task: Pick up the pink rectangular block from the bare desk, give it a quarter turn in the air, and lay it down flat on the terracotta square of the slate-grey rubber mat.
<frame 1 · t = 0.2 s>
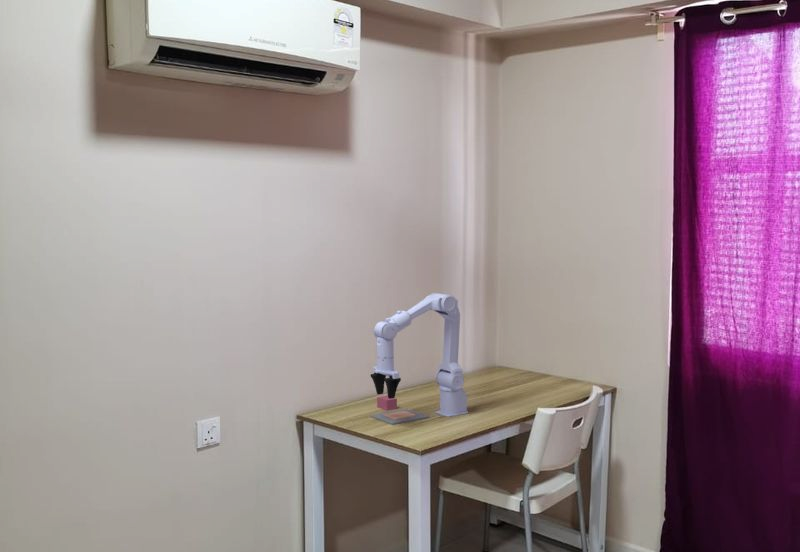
hand: (385, 396, 275), 10 cm above the table, fingers open, 7 cm apart
pink rectangular block: (387, 408, 299), on the table
mat: (399, 417, 285), on the table
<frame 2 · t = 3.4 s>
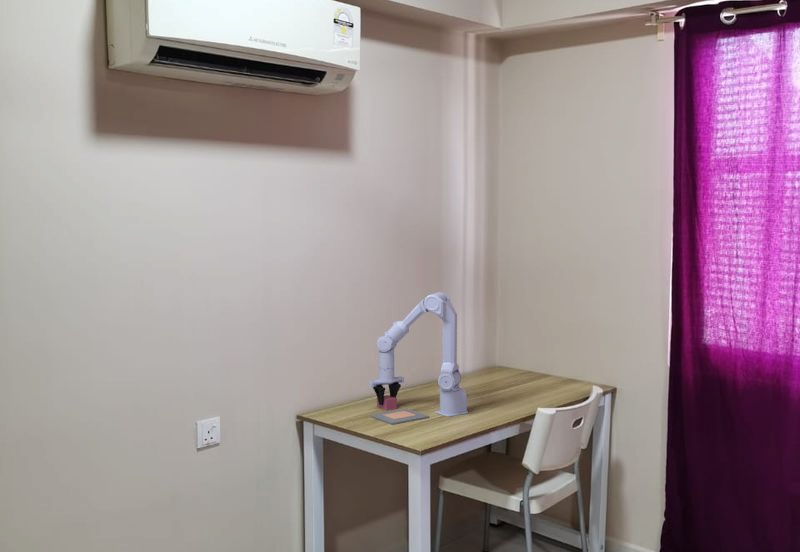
hand: (386, 403, 299), 2 cm above the table, fingers closed on pink rectangular block, 4 cm apart
pink rectangular block: (386, 408, 299), on the table, touching gripper
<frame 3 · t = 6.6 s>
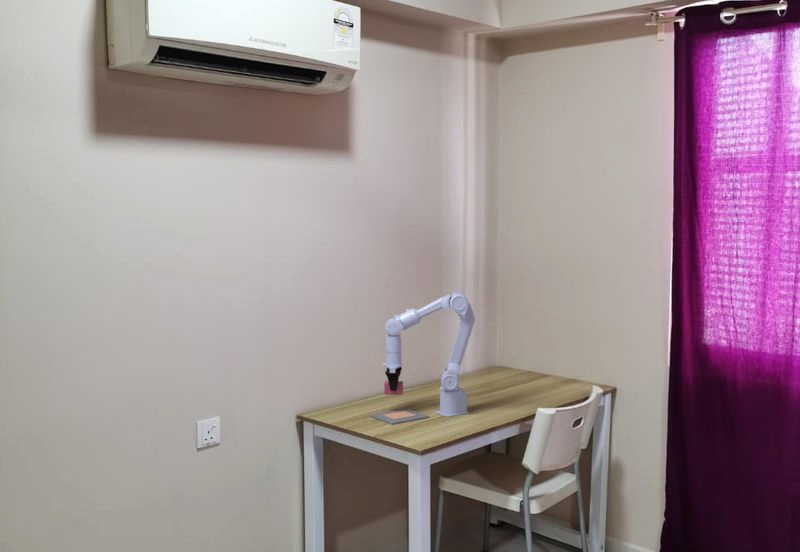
hand: (393, 388, 290), 9 cm above the table, fingers closed on pink rectangular block, 4 cm apart
pink rectangular block: (393, 393, 291), point 7 cm above the table, touching gripper
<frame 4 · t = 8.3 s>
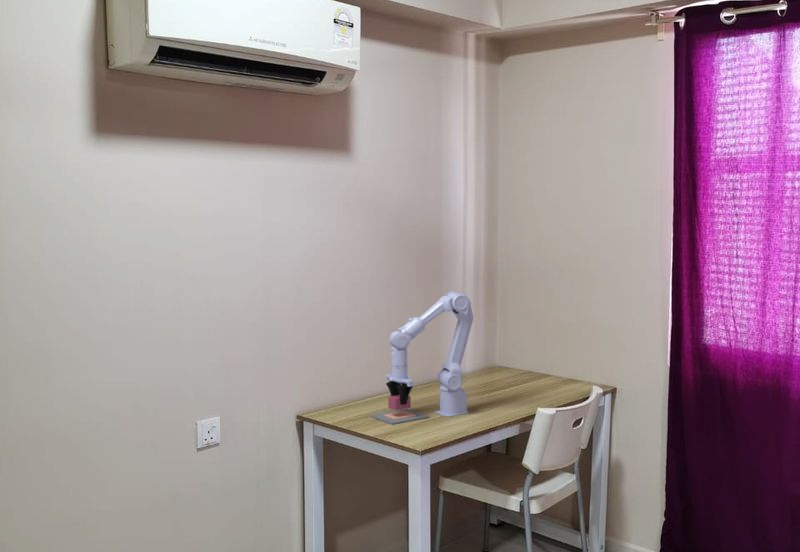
hand: (399, 403, 285), 5 cm above the table, fingers closed on pink rectangular block, 4 cm apart
pink rectangular block: (399, 407, 285), point 3 cm above the table, touching gripper
when the fingers open (4 cm above the table, at t = 9.8 s): pink rectangular block drops 1 cm, resting on mat.
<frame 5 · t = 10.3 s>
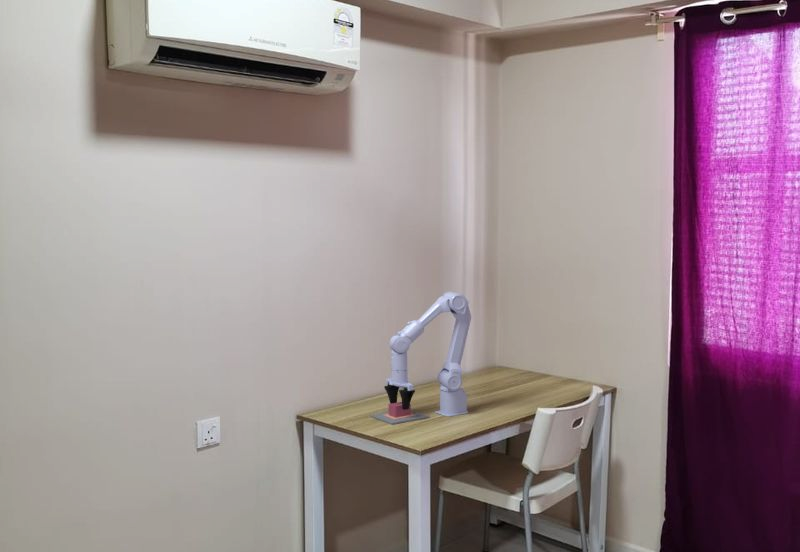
hand: (399, 407, 285), 4 cm above the table, fingers open, 7 cm apart
pink rectangular block: (399, 414, 285), point 1 cm above the table, touching mat
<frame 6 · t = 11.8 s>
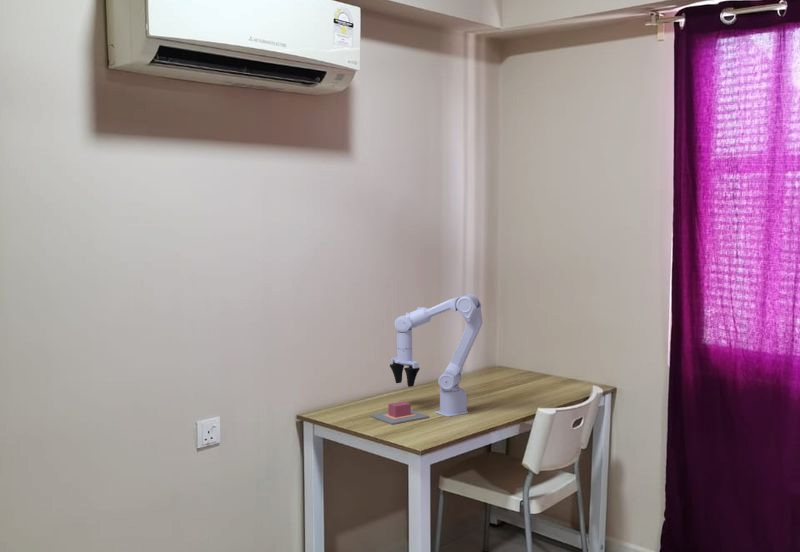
hand: (404, 384, 295), 9 cm above the table, fingers open, 7 cm apart
nothing on the table moved.
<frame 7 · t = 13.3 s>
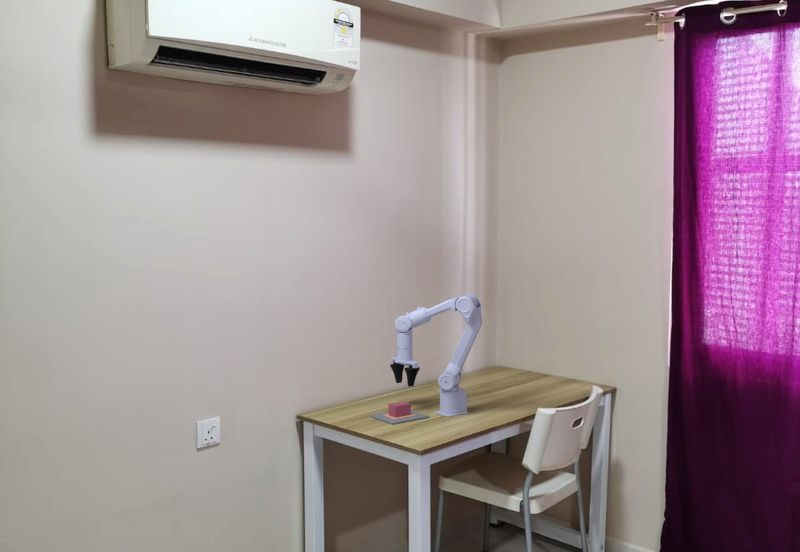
hand: (404, 384, 295), 9 cm above the table, fingers open, 7 cm apart
nothing on the table moved.
at the end: pink rectangular block 0.0 cm off-centre on the mat, point 0.8 cm above the mat's base; pink rectangular block tilted 0°; pink rectangular block touching mat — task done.
